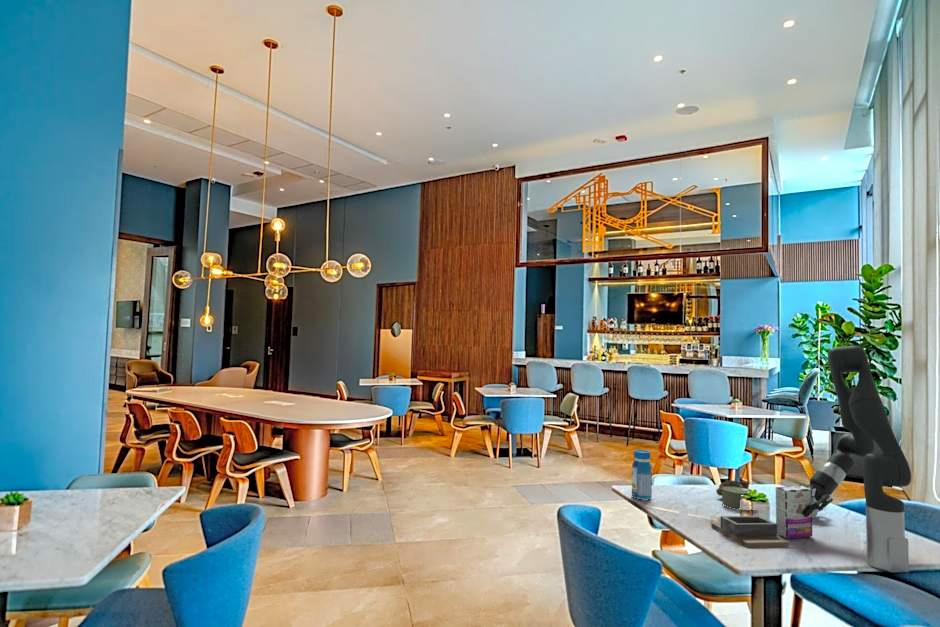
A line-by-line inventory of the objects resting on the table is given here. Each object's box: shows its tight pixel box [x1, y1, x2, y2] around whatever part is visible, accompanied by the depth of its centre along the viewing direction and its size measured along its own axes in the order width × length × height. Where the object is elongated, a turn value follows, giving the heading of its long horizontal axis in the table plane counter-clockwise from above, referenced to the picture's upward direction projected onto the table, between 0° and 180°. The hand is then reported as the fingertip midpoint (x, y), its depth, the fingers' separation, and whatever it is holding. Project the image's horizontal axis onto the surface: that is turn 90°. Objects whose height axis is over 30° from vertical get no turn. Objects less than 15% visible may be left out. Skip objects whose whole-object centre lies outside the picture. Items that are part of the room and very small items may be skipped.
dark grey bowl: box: [721, 486, 753, 510], centre depth 222 cm, size 12×12×7 cm
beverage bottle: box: [631, 449, 653, 501], centre depth 230 cm, size 8×8×20 cm
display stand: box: [710, 515, 790, 548], centre depth 184 cm, size 20×15×6 cm
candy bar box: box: [775, 485, 813, 539], centre depth 187 cm, size 11×5×16 cm, turn 104°
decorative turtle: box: [715, 480, 750, 497], centre depth 234 cm, size 10×15×8 cm, turn 105°
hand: (797, 512), depth 187 cm, fingers closed on candy bar box, 5 cm apart
